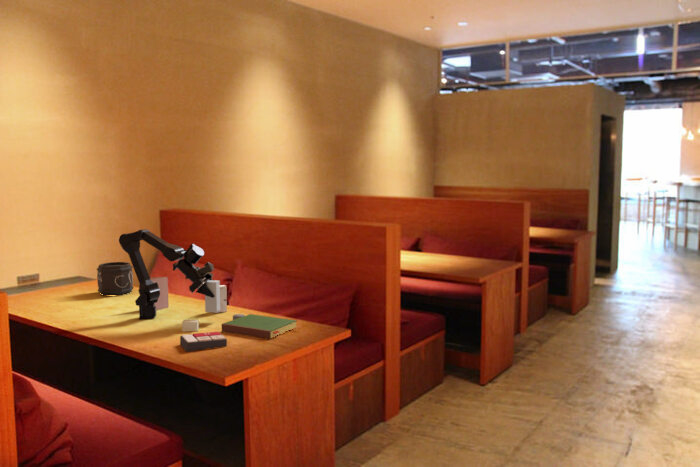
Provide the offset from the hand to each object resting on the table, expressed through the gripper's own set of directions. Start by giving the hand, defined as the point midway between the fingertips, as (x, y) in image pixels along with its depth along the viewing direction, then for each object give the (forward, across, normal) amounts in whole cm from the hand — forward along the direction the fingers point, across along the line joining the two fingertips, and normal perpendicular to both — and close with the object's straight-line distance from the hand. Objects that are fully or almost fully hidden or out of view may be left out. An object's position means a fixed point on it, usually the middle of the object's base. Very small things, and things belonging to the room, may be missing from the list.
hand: (215, 295), depth 262 cm
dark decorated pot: (-41, +59, +58) cm, 93 cm away
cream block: (+3, -13, +13) cm, 19 cm away
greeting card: (-16, +22, +33) cm, 42 cm away
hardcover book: (+24, -13, -7) cm, 28 cm away
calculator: (+12, -34, +6) cm, 37 cm away
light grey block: (+4, 0, +6) cm, 7 cm away
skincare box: (+6, +19, +11) cm, 23 cm away
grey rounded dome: (+15, 0, +1) cm, 15 cm away
